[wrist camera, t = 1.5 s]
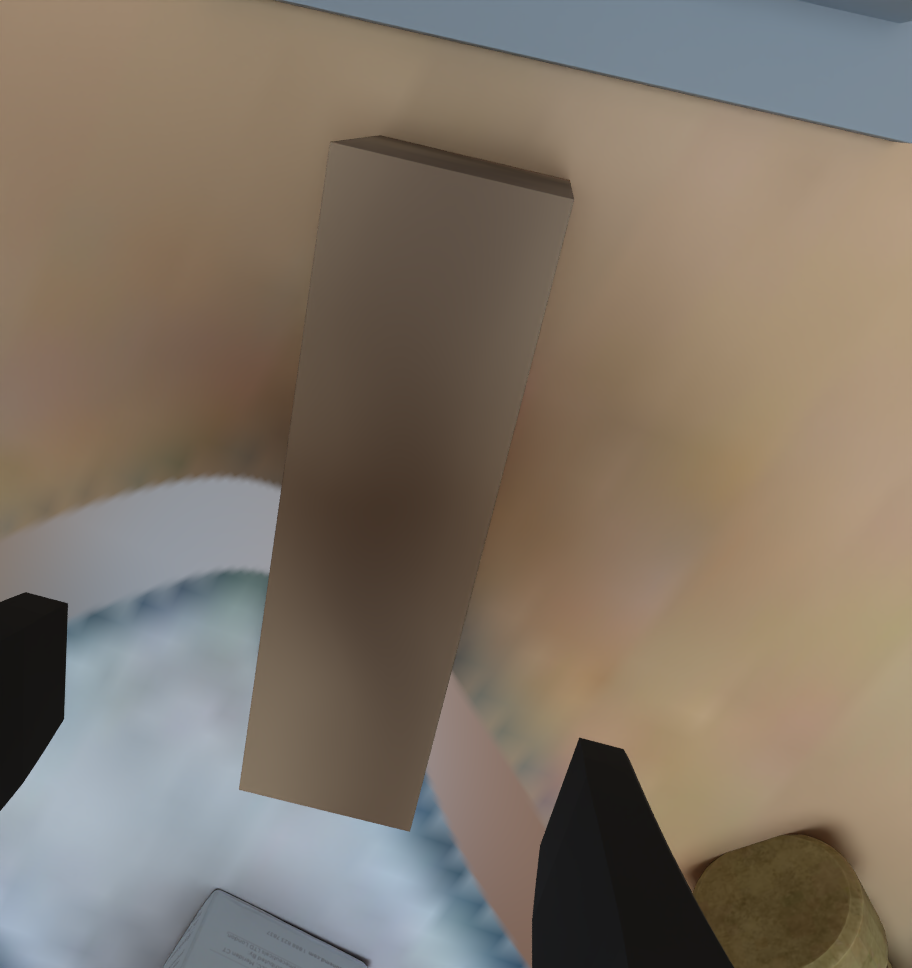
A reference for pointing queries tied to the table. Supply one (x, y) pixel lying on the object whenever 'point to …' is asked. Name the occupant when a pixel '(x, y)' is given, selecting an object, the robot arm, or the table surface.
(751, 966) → the gavel
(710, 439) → the table surface
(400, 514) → the walnut bar
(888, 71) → the fulcrum
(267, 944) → the skincare box
